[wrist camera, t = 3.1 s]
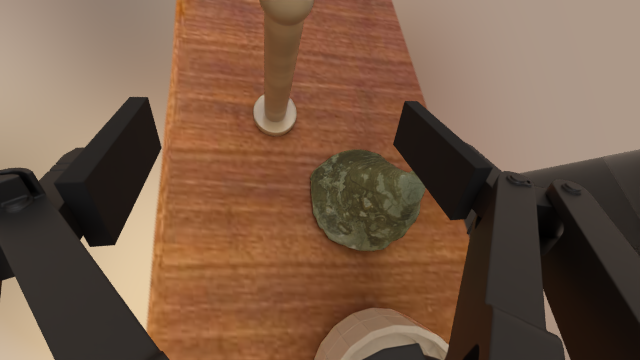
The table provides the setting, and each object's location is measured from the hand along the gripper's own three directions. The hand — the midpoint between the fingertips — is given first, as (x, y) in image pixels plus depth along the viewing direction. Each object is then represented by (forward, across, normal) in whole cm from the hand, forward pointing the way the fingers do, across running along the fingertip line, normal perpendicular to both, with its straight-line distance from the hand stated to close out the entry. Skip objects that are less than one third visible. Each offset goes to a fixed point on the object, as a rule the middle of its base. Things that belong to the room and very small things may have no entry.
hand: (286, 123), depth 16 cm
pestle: (+15, 0, -6) cm, 16 cm away
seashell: (+9, +9, -13) cm, 18 cm away
